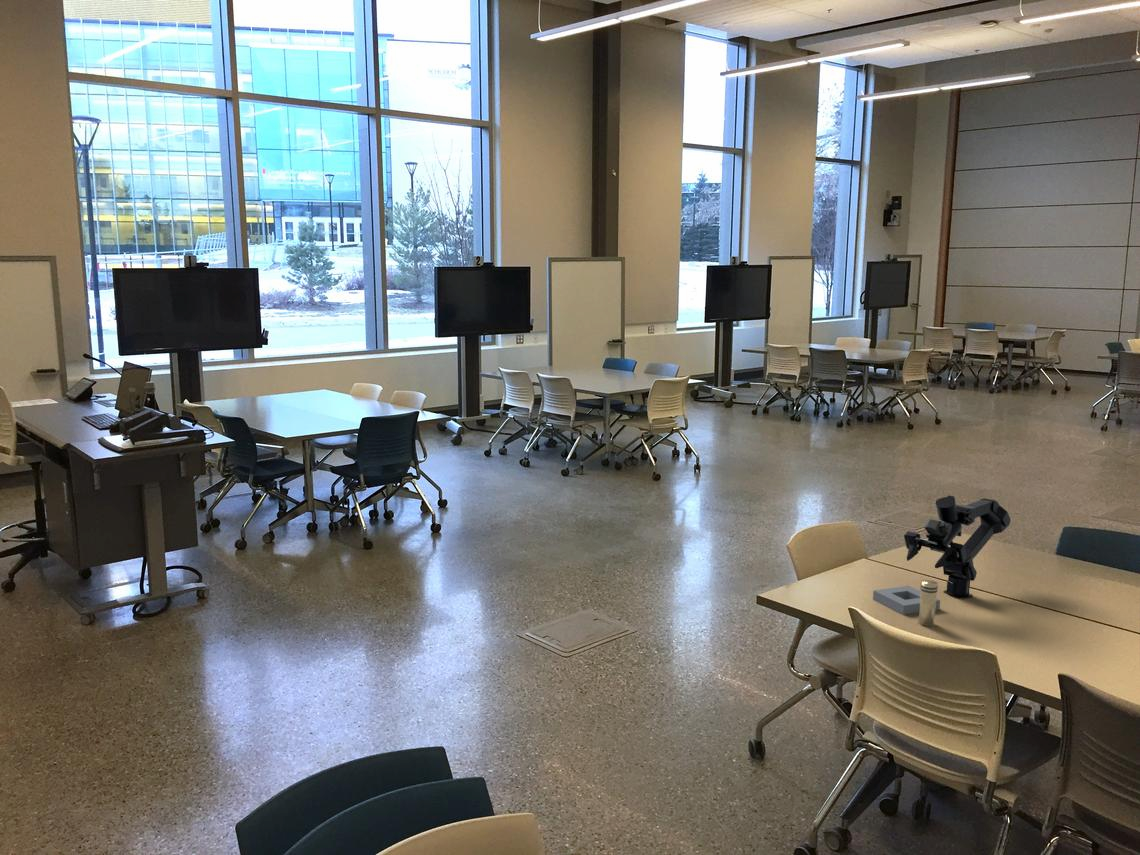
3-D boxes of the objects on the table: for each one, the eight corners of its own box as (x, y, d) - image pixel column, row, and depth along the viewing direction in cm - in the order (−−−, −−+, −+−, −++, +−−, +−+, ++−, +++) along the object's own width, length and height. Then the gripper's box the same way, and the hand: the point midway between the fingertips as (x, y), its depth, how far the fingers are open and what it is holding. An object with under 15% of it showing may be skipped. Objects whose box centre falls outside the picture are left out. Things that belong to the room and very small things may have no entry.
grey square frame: (907, 594, 288) (908, 585, 288) (939, 609, 275) (940, 600, 275) (872, 599, 283) (873, 590, 283) (903, 614, 271) (904, 605, 270)
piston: (926, 620, 267) (930, 578, 264) (938, 625, 262) (941, 583, 260) (914, 621, 265) (917, 580, 263) (925, 627, 261) (928, 585, 259)
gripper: (913, 506, 282) (888, 535, 274) (971, 519, 268) (946, 550, 260) (919, 533, 287) (895, 563, 279) (976, 547, 273) (952, 579, 265)
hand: (921, 563), depth 271 cm, fingers open, 9 cm apart
